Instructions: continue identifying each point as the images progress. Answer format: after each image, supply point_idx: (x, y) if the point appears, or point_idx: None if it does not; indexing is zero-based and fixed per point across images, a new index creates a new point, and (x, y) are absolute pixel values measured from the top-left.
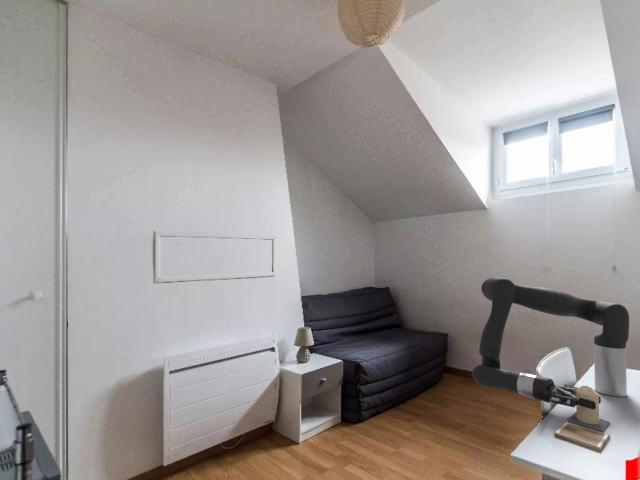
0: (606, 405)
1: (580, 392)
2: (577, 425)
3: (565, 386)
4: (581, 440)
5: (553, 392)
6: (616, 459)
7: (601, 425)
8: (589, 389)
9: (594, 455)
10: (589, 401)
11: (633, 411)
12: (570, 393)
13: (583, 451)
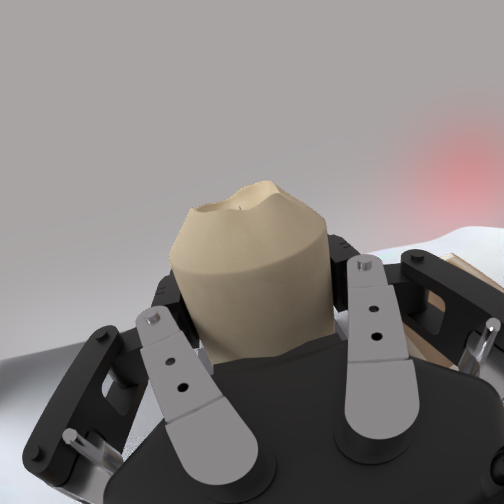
0: (25, 402)
1: (321, 225)
2: (411, 349)
3: (60, 465)
4: (478, 275)
5: (496, 397)
6: (435, 244)
7: None
8: (270, 183)
9: (474, 255)
10: (328, 238)
11: (45, 351)
12: (369, 286)
13: (490, 266)
